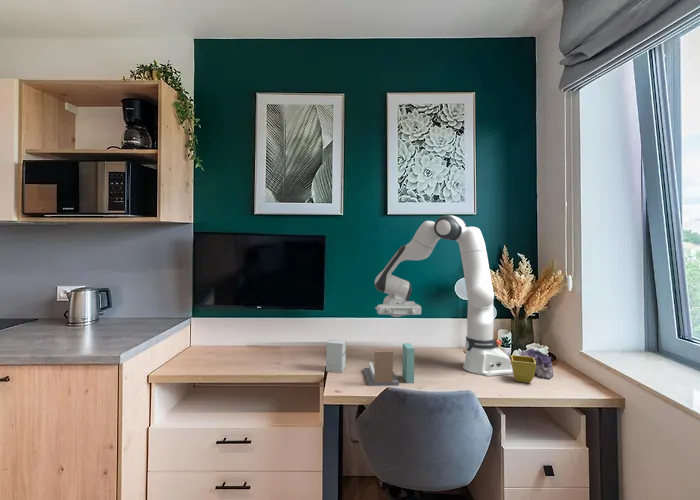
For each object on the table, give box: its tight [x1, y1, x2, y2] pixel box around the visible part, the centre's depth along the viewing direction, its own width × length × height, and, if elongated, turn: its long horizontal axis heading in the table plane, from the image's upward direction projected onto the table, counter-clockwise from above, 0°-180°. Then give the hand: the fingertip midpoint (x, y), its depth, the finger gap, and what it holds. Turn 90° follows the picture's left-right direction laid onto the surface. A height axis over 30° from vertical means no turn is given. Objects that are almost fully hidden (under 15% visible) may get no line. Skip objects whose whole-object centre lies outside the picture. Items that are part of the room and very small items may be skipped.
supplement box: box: [325, 338, 347, 373], centre depth 170 cm, size 7×7×13 cm
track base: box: [363, 350, 400, 387], centre depth 161 cm, size 12×18×13 cm, turn 4°
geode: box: [519, 348, 554, 380], centre depth 171 cm, size 20×12×10 cm, turn 179°
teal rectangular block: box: [401, 342, 415, 384], centre depth 159 cm, size 3×8×14 cm, turn 4°
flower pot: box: [510, 354, 536, 384], centre depth 159 cm, size 9×9×9 cm
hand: (402, 312), depth 171 cm, fingers open, 8 cm apart
